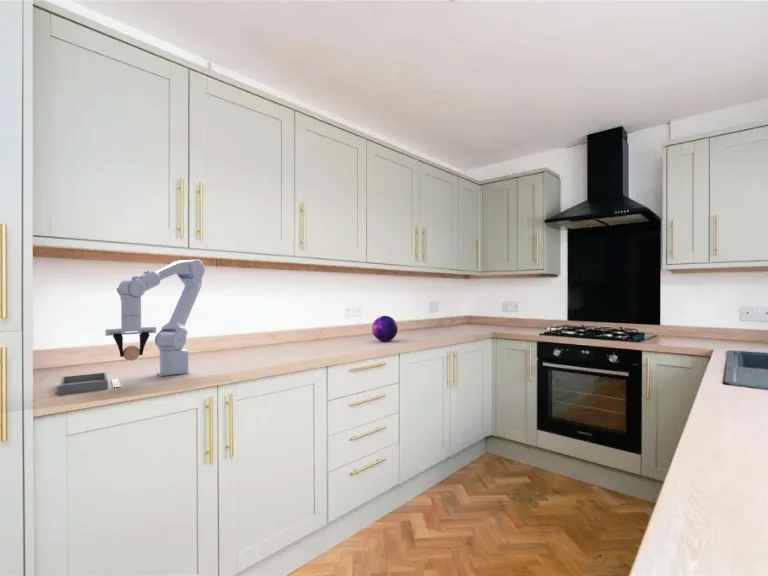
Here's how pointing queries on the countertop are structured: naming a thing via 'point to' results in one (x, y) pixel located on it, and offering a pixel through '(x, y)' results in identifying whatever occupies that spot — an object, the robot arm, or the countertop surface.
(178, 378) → the countertop surface
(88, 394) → the countertop surface
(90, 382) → the tray
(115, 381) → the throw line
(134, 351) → the ball
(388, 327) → the decorative orb
